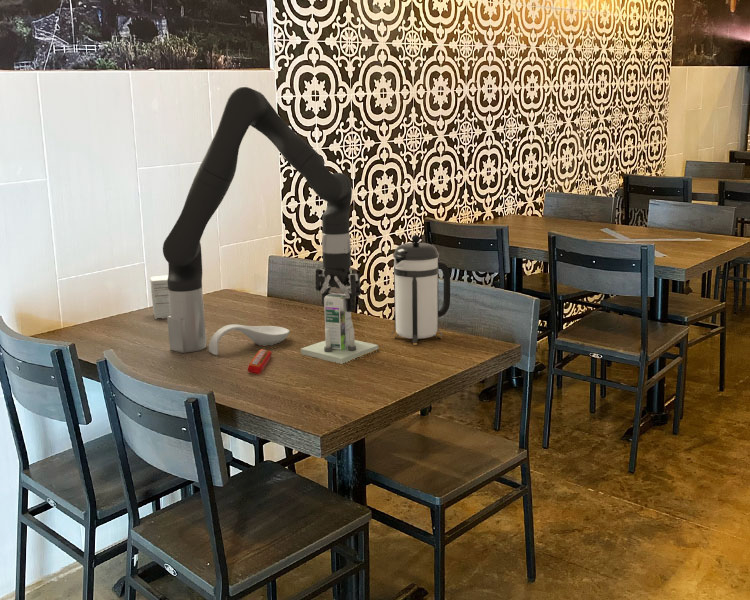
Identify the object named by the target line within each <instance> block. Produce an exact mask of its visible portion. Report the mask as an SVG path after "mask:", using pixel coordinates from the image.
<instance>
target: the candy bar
mask: <svg viewBox="0 0 750 600" xmlns="http://www.w3.org/2000/svg"><path fill="white" fill-rule="evenodd" d="M271 357H272V351H270V350H268V349H264V348H261V349H259V350H258V351H257V352H256V354H255V355H254V357H253V358H252V359H251V361H250V362H249V364H248V367H247V372H248V373H250V374H255V375H260V374H261V373H262V372H263V371H264V370H265V367H266V366H267V364H268V363H269V361H270V360H271Z"/></svg>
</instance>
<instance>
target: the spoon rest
mask: <svg viewBox="0 0 750 600" xmlns="http://www.w3.org/2000/svg"><path fill="white" fill-rule="evenodd" d="M231 331H238V332H240V333H242V334H243V335H245V336H247V338H249V339H250V340H251V341H252V342H254V343H255V344H257V345H258V346H261V345H263V346H262V347H264V346H265V347H268V346H267V345H270V346H274V344H275V345H278V344H280V343H281V342H282V341H284V340H285V339H287V337H288V336H289V334H290V333H291V332H290V330H289V329H287V328H285V327H282V326H275V325H255V326H254V325H251V326H250V325H243V324H236V323H235V324H227V325H224V326H222V327H221V328H219V329H218V330H216V332H215V333H213V335H212V336H211V338H210V341H209V344H208V353H211V354H212V355H214V356H218V355H219V344H220V340H221V339H222V338H223V336H225V335H226V334H227V333H229V332H231ZM277 343H278V344H277Z"/></svg>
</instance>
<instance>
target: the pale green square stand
mask: <svg viewBox="0 0 750 600" xmlns="http://www.w3.org/2000/svg"><path fill="white" fill-rule="evenodd" d="M353 324H354V323H353V321H351V328H349V346H348V348H347V349H345V350H337V349H332V346H331V337H330V329H325V328H324V337H325V339H324V340H322V341H320V342H319V341H318V342H316V343H313V344H310V345H308V346H305V347H302V348H301V347H300V355H304V356H307V357H312V358H315V359H320V360H323V361H327V362H331V363H335V362H336V364H339V363H340V365H343V363H344V364H346V363H349V362H351V361H350V360H352V359H354V360H356V359H355V358H357V357H359V356H362V355H364V354H367V353H369V352H372V351H374V350H377V349H379V348H380V347H379V344H375V343H370V342H365V341H362V340H357V339H355V327H354V326H353ZM362 357H363V356H362ZM357 359H358V358H357ZM348 361H349V362H348ZM352 361H353V360H352ZM345 362H346V363H345Z"/></svg>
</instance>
